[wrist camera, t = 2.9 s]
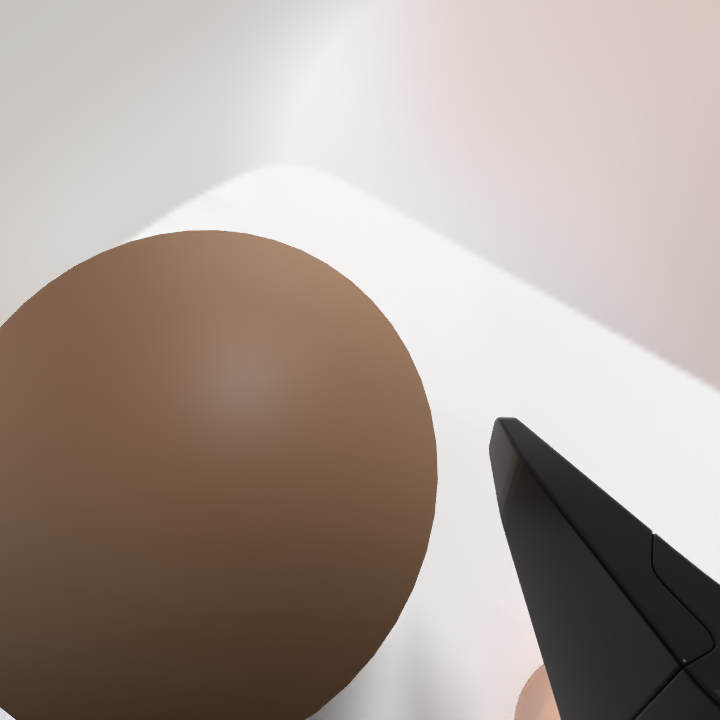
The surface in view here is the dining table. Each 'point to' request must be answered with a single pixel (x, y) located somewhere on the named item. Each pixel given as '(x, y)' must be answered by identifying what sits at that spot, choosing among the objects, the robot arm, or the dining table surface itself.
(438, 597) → the dining table surface
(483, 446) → the dining table surface
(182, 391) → the walnut post
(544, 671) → the peach rounded knob part
